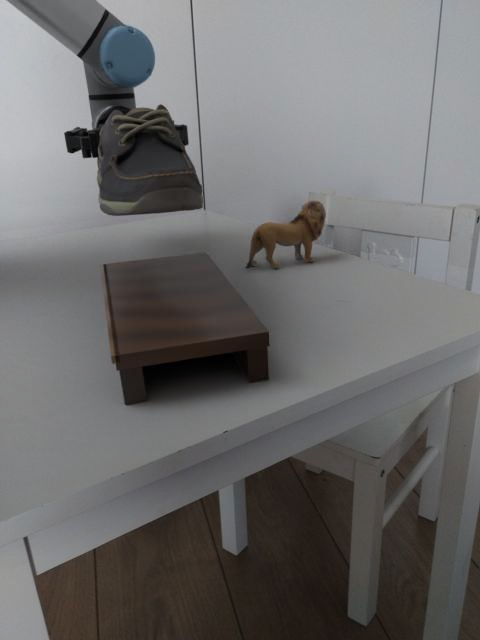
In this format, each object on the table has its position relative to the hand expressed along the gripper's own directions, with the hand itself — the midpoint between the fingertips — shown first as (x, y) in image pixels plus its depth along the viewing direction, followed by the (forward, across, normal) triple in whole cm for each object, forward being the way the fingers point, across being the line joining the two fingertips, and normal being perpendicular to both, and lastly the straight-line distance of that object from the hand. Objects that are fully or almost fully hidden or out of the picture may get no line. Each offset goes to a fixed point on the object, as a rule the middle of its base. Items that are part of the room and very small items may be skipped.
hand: (133, 143), depth 69 cm
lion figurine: (-9, -22, -20) cm, 31 cm away
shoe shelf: (+13, -1, -20) cm, 24 cm away
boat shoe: (+4, 0, -7) cm, 8 cm away
